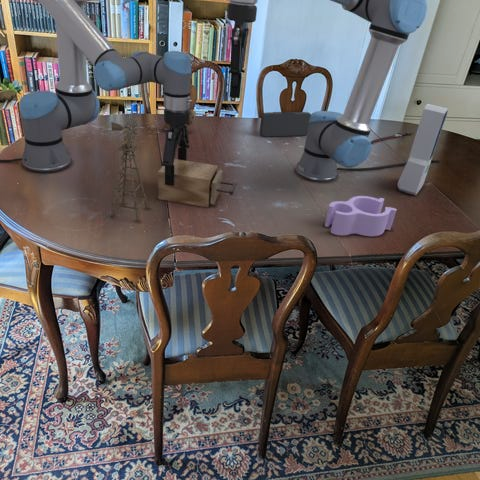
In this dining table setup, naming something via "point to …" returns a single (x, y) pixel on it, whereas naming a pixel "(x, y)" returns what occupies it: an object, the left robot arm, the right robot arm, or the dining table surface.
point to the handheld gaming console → (284, 123)
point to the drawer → (219, 187)
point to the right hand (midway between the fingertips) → (234, 96)
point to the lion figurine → (192, 119)
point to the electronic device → (422, 149)
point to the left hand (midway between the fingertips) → (176, 175)
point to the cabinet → (188, 183)
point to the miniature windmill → (125, 147)
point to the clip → (359, 216)
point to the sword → (389, 137)
